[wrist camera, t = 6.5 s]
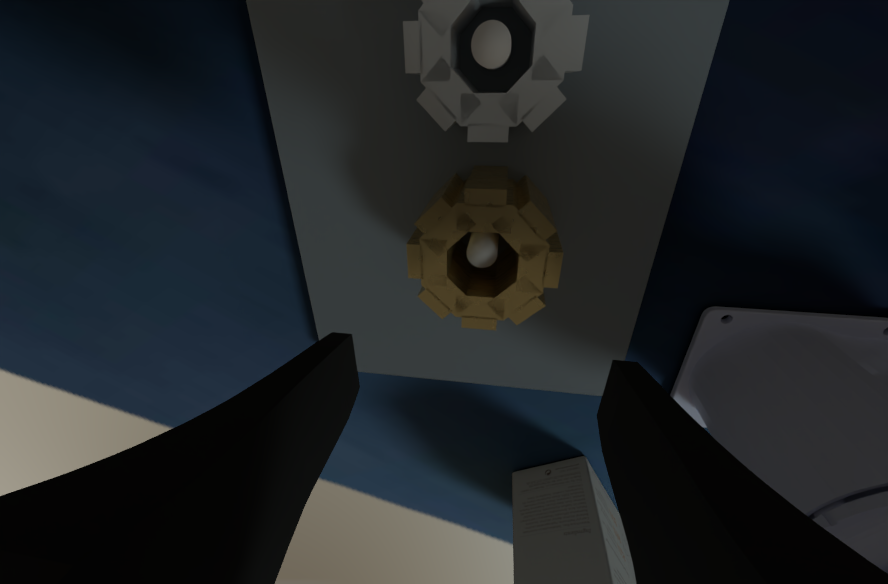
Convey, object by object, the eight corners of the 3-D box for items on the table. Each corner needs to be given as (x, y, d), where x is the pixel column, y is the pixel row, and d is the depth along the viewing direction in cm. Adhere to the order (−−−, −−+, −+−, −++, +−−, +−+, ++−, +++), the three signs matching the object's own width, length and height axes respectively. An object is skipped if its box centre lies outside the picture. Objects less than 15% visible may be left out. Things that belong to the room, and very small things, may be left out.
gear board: (772, -227, 11) (920, -403, 7) (607, 378, 22) (628, 442, 18) (234, -166, 13) (118, -272, 9) (334, 353, 24) (301, 404, 20)
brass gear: (559, 167, 15) (573, 192, 12) (542, 287, 18) (549, 334, 15) (425, 164, 16) (403, 186, 13) (428, 279, 19) (410, 323, 15)
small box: (510, 468, 27) (510, 661, 18) (586, 452, 25) (629, 659, 16) (553, 530, 30) (572, 722, 21) (625, 519, 28) (679, 728, 19)
